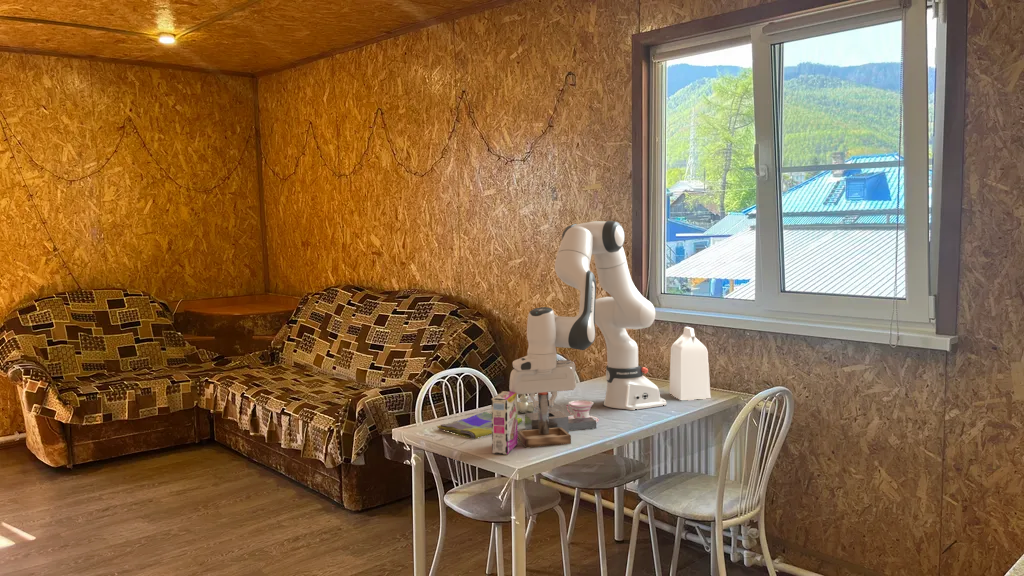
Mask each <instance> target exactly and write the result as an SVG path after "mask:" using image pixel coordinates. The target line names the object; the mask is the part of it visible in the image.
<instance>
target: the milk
mask: <svg viewBox="0 0 1024 576" xmlns="http://www.w3.org/2000/svg"><path fill="white" fill-rule="evenodd" d="M708 351H709V350H708V349H707V347H706V345H705V344H704V343H702V342H701V340H700V339H698V338H697V337H696V334H695V329H694V328H693V327H689V326H684V328H683V333H682V334H681V335H680V336H679V337H678V338H677V339H676V340H675V341H674V342H673V343H672V345H671V347H670V357H669V358H670V363H669V390H668V391H669V393H670V394H672V395H673V396H675V397H676V398H675V397H674V398H675V399H677V398H678V399H680V400H688V401H695V400H694V399H703V400H707V399H706V398H711V384H710V383H711V379H710V367H709V366H710V364H709V352H708ZM669 393H668V394H669ZM670 394H669V395H670ZM672 395H671V396H672ZM673 396H672V397H673ZM678 399H677V400H678ZM711 399H712V398H711ZM680 400H679V401H680Z"/></svg>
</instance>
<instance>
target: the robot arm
mask: <svg viewBox="0 0 1024 576" xmlns="http://www.w3.org/2000/svg"><path fill="white" fill-rule="evenodd" d="M625 234H626V233H625V230H624V227H623V226H622V225H621V223H620V222H618V221H614V220H607V221H606V220H605V221H603V220H600V221H599V220H594V221H588V222H582V223H578V224H577V223H574V224H570V225H568V226H566V227H565V229H564V230H563V231H562V234H561V241H560V244H559V248H558V250H557V254H556V256H555V257H556V258H555V260H554V271H555V274H556V276H557V278H558V279H560V280H561V281H562V283H564V284H566V285H567V286H570V287H571V288H574V289H576V290H578V291H579V292H580V293H579V296H580V297H579V307H578V309H579V311H578V314H577V315H576V316H561V315H558V314H557V315H556V314H555V311H554V309H553V308H551V307H547V306H546V307H545V306H544V307H536V308H533V309H531V310H529V312H528V314H527V320H526V323H527V324H526V340H527V342H528V348H527V352H526V355H525V356H523V357H522V356H521V357H520V358H517V359H515V360H513V361H512V367H513V369H512V370H511V372H510V375H509V376H510V377H509V391H511V392H513V393H517V396H518V395H522V394H526V395H528V397H529V398H530V399H531V402H533V407H534V409H535V408H537V409H538V407H539V402H538V400H536V398H535V397H536V394H538V393H543V392H548V393H550V395H551V397H550V398H549V399H548V401H549V407H554V406H555V404H554V401H555V400H556V397H558V392H564V391H567V392H570V391H574V390H575V389H576V387H577V383H576V382H577V381H576V376H575V372H576V364H575V362H574V361H572V360H571V359H566V360H562V359H561V360H558V359H557V355H558V353H557V352H558V351H557V348H564V349H565V348H566V349H573V350H579V351H585V350H586V349H588V348H589V347H590V346H592V344H593V343H594V342H595V340H596V326H597V327H598V329H599V330H600V332H601V334H602V336H603V338H604V341H605V347H606V358H607V359H606V360H607V365H606V370H605V379H606V390H605V397H604V402H603V405H604V406H605V407H607V408H613V409H621V410H622V409H623V410H629V411H635V409H637V410H642V409H650V408H655V407H656V408H657V407H664V406H667V404H668V403H667V400H666V399H664V398H662V397H661V395H660V389H659V387H658V386H657V385H656V384H655V383H654V382H653V381H651V380H650V379H649V378H647V377H646V376H644V374H648V372H649V369H648V368H647V367H645V366H644V367H642V366H641V365H639V347H638V344H637V342H636V341H635V340H634V339H633V338H632V337H630V335H629V333H628V331H627V329H630V330H631V329H632V330H642V329H646V328H650V327H651V326H652V325H653V323H654V322H655V318H656V309H655V306H654V304H653V303H652V302H651V301H650V300H648V299H647V298H646V297H644V296H643V295H642V294H641V292H640V291H639V290H638V289H637V287H636V286H635V283H634V281H633V279H632V276H631V273H630V269H629V266H628V261H627V256H626V253H625V249H624V247H623V246H624V244H625V241H626V237H625V236H626V235H625ZM592 255H593V261H594V264H595V265H594V266H595V269H596V270H595V271H596V275H597V278H598V283H599V286H600V287H601V288H602V290H603V291H605V292H606V293H608V294H609V295H610V296H603V297H598V298H596V297H597V279H596V277H595V274H594V273H593V272H592V271H591V269H590V267H591V266H590V264H591V260H592ZM663 405H664V406H663Z"/></svg>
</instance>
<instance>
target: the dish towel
mask: <svg viewBox="0 0 1024 576" xmlns="http://www.w3.org/2000/svg"><path fill="white" fill-rule="evenodd" d="M517 421H518V425H520V424H521V423H523V418H521V417H517ZM437 429H438V430H440V429H441V430H445V431H449V432H452V433H455V434H454V435H456V434H458V435H457V436H460V435H461V437H463V436H465V437H464V438H467V437H468V438H467V439H470V438H474V439H475V438H476V439H479V438H482V437H481V436H483V437H487V436H490V435H492V413H490V412H487V411H483V412H480V413H476V414H474V415H472V416H469V417H467V418H462V419H459V420H456V421H455V420H454V421H453V422H448V423H443V424H440V425H437ZM441 430H440V431H441ZM445 431H444V432H445ZM449 432H448V433H449ZM452 433H451V434H452ZM489 434H490V435H489ZM478 437H479V438H478Z"/></svg>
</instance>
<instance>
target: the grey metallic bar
mask: <svg viewBox="0 0 1024 576" xmlns="http://www.w3.org/2000/svg"><path fill="white" fill-rule="evenodd" d="M548 400H549V392H543V393H537V401H538V402H539V407H537V412H538V423H539V434H548V433H549V411H550V409H549V408H550V406H549V401H548Z"/></svg>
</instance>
